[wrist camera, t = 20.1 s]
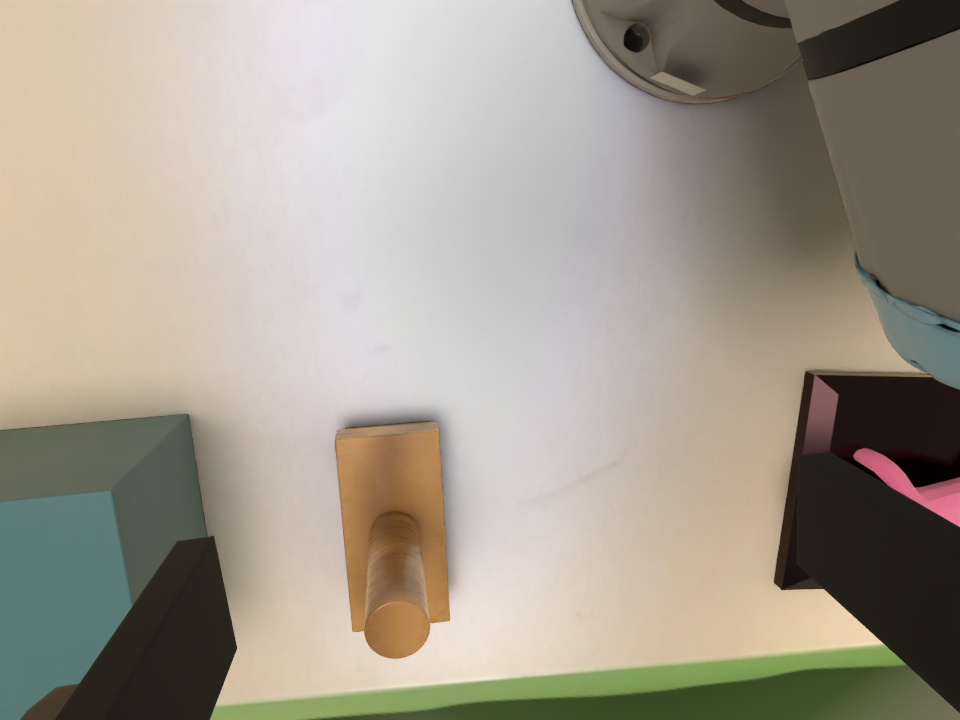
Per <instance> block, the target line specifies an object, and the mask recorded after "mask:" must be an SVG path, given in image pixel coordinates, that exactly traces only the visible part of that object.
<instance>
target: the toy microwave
mask: <svg viewBox="0 0 960 720" xmlns="http://www.w3.org/2000/svg"><path fill="white" fill-rule="evenodd" d="M203 537H207V533H206V527H205V520H204V514H203V507H202V501H201V495H200V488H199V482H198V475H197V469H196V462H195V456H194V449H193V443H192V437H191V430H190V424H189V417H188V414H182V415H171V416H160V417H148V418H137V419H126V420H115V421H103V422H92V423H81V424H70V425H58V426H47V427H36V428H24V429H13V430H2V431H0V720H20V719H21V718H22V716H23V715H24V714H25V712H26V711H27V710H28V709H30V708H31V707H32V706H33V705H35V704H36V703H37V702H38V701H40V700H41V699H42V698H43V697H44V696H46V695H47V694H48V693H49V692H51V691H52V690H53V689H54V688H55V687H60V686H66V685H73V684H79V683H80V682H81V680H82V679H83V677H84V676H85V674H86V673H87V672H88V670H89V669H90V667H91V666H92V664H93V663H94V661H95V660H96V658H97V657H98V656H99V654H100V653H101V651H102V650H103V648H104V647H105V645H106V644H107V642H108V641H109V640H110V638H111V637H112V635H113V634H114V632H115V631H116V629H117V628H118V626H119V625H120V624H121V622H122V621H123V619H124V618H125V616H126V615H127V613H128V612H129V610H130V609H131V608H132V606H133V605H134V603H135V602H136V600H137V599H138V597H139V596H140V594H141V593H142V592H143V590H144V589H145V587H146V586H147V584H148V583H149V581H150V580H151V578H152V577H153V576H154V574H155V573H156V571H157V570H158V568H159V567H160V565H161V564H162V562H163V561H164V560H165V558H166V557H167V555H168V554H169V552H170V551H171V549H172V548H173V546H174V545H175V544H176V542H177V541H181V540H189V539H196V538H203Z"/></svg>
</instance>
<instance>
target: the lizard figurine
mask: <svg viewBox="0 0 960 720" xmlns="http://www.w3.org/2000/svg"><path fill="white" fill-rule="evenodd" d="M823 452H831V453H832V454H834V455H836V456H838V457H839V458H841V459H843V460H845V461H846V462H848V463H850V464H852V465H853V466H855V467H857V468H858V469H860V470H862V471H864V472H865V473H867V474H869V475H871V476H872V477H874V478H876V479H878V480H879V481H881V482H883V483H884V484H886V485H888V486H890V487H891V488H893V489H895V490H897V491H898V492H900V493H902V494H904V495H905V496H907V497H909V498H910V499H912V500H914V501H916V502H917V503H919V504H921V505H923V506H924V507H926V508H928V509H930V510H931V511H933V512H935V513H936V514H938V515H940V516H942V517H943V518H945V519H947V520H949V521H950V522H952V523H954V524H956V525H957V526H959V527H960V389H957V388H954V387H951V386H948V385H946V384H944V383H941V382H939V381H937V380H936V379H934V378H933V377H932V376H931V375H930V374H903V373H857V372H811V371H806V374H805V381H804V387H803V394H802V401H801V407H800V414H799V421H798V427H797V434H796V441H795V447H794V454H793V460H792V467H791V474H790V480H789V487H788V494H787V500H786V507H785V514H784V520H783V527H782V533H781V540H780V547H779V553H778V560H777V567H776V573H775V580H774V583H775V584H776V585H777V586H778V587H779V588H780V589H781V590H795V589H823V588H822V587H821V586H820V585H819V584H818V583H817V582H816V581H815V580H814V579H812V578H811V577H810V576H809V575H808V574H807V573H806V572H805V571H804V570H803V569H801V568H800V567H799V566H798V565H797V474H798V456H801V455H809V454H816V453H823Z"/></svg>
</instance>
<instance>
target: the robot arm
mask: <svg viewBox="0 0 960 720" xmlns="http://www.w3.org/2000/svg"><path fill="white" fill-rule="evenodd" d="M572 2H573V5H574V8H575V11H576V14H577V17H578V19H579V21H580V23H581V25H582V28H583V30H584V31H585V33H586V35H587V37H588V39H589V40H590V42H591V43H592V45H593V46H594V48H595V49H596V51H597V52H598V53H599V55H600V56H601V57H602V58H603V59H604V61H605V62H606V63H607V64H608V65H609V66H610V67H611V68H612V69H613V70H614V71H615V72H616V73H617V74H619V75H620V76H621V77H622V78H624V79H625V80H626V81H628V82H629V83H631V84H632V85H634V86H635V87H637V88H639V89H640V90H642V91H644V92H647V93H649V94H651V95H653V96H656V97H659V98H662V99H665V100H669V101H673V102H679V103H687V104H705V103H714V102H719V101H724V100H728V99H731V98H734V97H737V96H740V95H743V94H746V93H749V92H752V91H755V90H757V89H759V88H761V87H764V86H766V85H768V84H769V83H771V82H773V81H775V80H777V79H778V78H780V77H781V76H782V75H784V74H785V73H787V72H788V71H789V70H791V69H792V68H793V67H794V66H795V65H796V64H798V63H799V62H800V61H801V60H803V64H804V67H805V71H806V74H807V79H808V80H807V82H808V85H809V89H810V92H811V95H812V99H813V102H814V106H815V109H816V112H817V116H818V119H819V123H820V126H821V129H822V133H823V136H824V140H825V143H826V146H827V150H828V153H829V157H830V160H831V163H832V167H833V170H834V174H835V177H836V180H837V184H838V187H839V191H840V194H841V197H842V201H843V204H844V208H845V211H846V215H847V219H848V222H849V226H850V230H851V234H852V237H853V241H854V245H855V249H856V250H855V251H854V260H855V264H856V268H857V273H858V275H859V276H860V278H861V280H862V281H863V283H864V284H865V285H866V286H867V288H868V289H869V291H870V294H871V296H872V299H873V302H874V304H875V307H876V310H877V313H878V316H879V319H880V321H881V324H882V327H883V330H884V332H885V335H886V337H887V339H888V341H889V342H890V343H891V345H892V347H893V348H894V349H895V350H896V352H897V353H898V354H899V355H900V356H901V357H902V358H903V359H904V360H905V361H906V362H908V363H909V364H911V365H912V366H914V367H916V368H918V369H920V370H921V371H924V372H927V373H928V374H930V375H931V376H932V377H933V378H934V379H936V380H937V381H939V382H941V383H944V384H946V385H948V386H951V387H954V388H957V389H960V0H572ZM797 565H798V566H799V567H800V568H801V569H803V570H804V571H805V572H806V573H807V574H808V575H809V576H810V577H811V578H812V579H814V580H815V581H816V582H817V583H818V584H819V585H820V586H821V587H822V588H823V589H824V590H826V591H827V592H828V593H829V594H830V595H831V596H832V597H833V598H834V599H835V600H837V601H838V602H839V603H840V604H841V605H842V606H843V607H844V608H845V609H846V610H847V611H849V612H850V613H851V614H852V615H853V616H854V617H855V618H856V619H857V620H858V621H860V622H861V623H862V624H863V625H864V626H865V627H866V628H867V629H868V630H869V631H870V632H872V633H873V634H874V635H875V636H876V637H877V638H878V639H879V640H880V641H881V642H883V643H884V644H885V645H886V646H887V647H888V648H889V649H890V650H891V651H892V652H893V653H895V654H896V655H897V656H898V657H899V658H900V659H901V660H902V661H903V662H904V663H906V664H907V665H908V666H909V667H910V668H911V669H912V670H913V671H914V672H916V674H918V675H919V676H920V677H921V678H922V679H923V680H924V681H925V682H926V683H928V684H929V685H930V686H931V687H932V688H933V689H934V690H935V691H936V692H937V693H938V694H940V695H941V696H942V697H943V698H944V699H945V700H946V701H947V702H948V703H950V705H952V706H953V707H954V708H955V709H956V710H957V711H958V712H959V713H960V527H959V526H957V525H956V524H954V523H952V522H950V521H949V520H947V519H945V518H943V517H942V516H940V515H938V514H936V513H935V512H933V511H931V510H930V509H928V508H926V507H924V506H923V505H921V504H919V503H917V502H916V501H914V500H912V499H910V498H909V497H907V496H905V495H904V494H902V493H900V492H898V491H897V490H895V489H893V488H891V487H890V486H888V485H886V484H884V483H883V482H881V481H879V480H878V479H876V478H874V477H872V476H871V475H869V474H867V473H865V472H864V471H862V470H860V469H858V468H857V467H855V466H853V465H852V464H850V463H848V462H846V461H845V460H843V459H841V458H839V457H838V456H836V455H834V454H832V453H831V452H823V453H816V454H809V455H801V456H798V474H797ZM236 650H237V646H236V641H235V636H234V631H233V626H232V621H231V616H230V612H229V607H228V602H227V597H226V592H225V587H224V583H223V578H222V573H221V568H220V563H219V558H218V554H217V549H216V544H215V539H214V536H211V537H203V538H196V539H189V540H181V541H177V542H176V544H175V545H174V546H173V548H172V549H171V551H170V552H169V554H168V555H167V557H166V558H165V560H164V561H163V562H162V564H161V565H160V567H159V568H158V570H157V571H156V573H155V574H154V576H153V577H152V578H151V580H150V581H149V583H148V584H147V586H146V587H145V589H144V590H143V592H142V593H141V594H140V596H139V597H138V599H137V600H136V602H135V603H134V605H133V606H132V608H131V609H130V610H129V612H128V613H127V615H126V616H125V618H124V619H123V621H122V622H121V624H120V625H119V626H118V628H117V629H116V631H115V632H114V634H113V635H112V637H111V638H110V640H109V641H108V642H107V644H106V645H105V647H104V648H103V650H102V651H101V653H100V654H99V656H98V657H97V658H96V660H95V661H94V663H93V664H92V666H91V667H90V669H89V670H88V672H87V673H86V674H85V676H84V677H83V679H82V680H81V682H80V683H79V684H73V685H66V686H60V687H55V688H54V689H53V690H52V691H51V692H49V693H48V694H47V695H46V696H44V697H43V698H42V699H41V700H40V701H38V702H37V703H36V704H35V705H33V706H32V707H31V708H30V709H28V710H27V711H26V712H25V714H24V715H23V716H22V718H21V719H20V720H210V718H211V715H212V712H213V710H214V707H215V704H216V702H217V699H218V697H219V694H220V691H221V689H222V686H223V684H224V681H225V678H226V676H227V673H228V671H229V668H230V665H231V663H232V660H233V658H234V655H235V652H236Z"/></svg>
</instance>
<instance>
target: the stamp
mask: <svg viewBox="0 0 960 720" xmlns="http://www.w3.org/2000/svg"><path fill="white" fill-rule="evenodd" d="M335 448H336V459H337V469H338V480H339V491H340V502H341V513H342V523H343V534H344V545H345V556H346V566H347V577H348V588H349V599H350V610H351V620H352V631H353V632H359V631H364V634H365V638H366V641H367V643H368V645H369V646H370V647H371V649H372V650H373V651H375V652H376V653H377V654H379V655H381V656H384V657H387V658H403V657H407V656H409V655H412V654H413V653H415V652H416V651H418V650H419V649H420V648H421V647H422V646H423V645H424V643H425V642H426V640H427V638H428V635H429V631H430V623H436V622H445V621H450V611H449V593H448V576H447V559H446V542H445V524H444V507H443V490H442V473H441V455H440V438H439V429H438V425H437V422H430V421H426V422H413V423H401V424H389V425H376V426H364V427H352V428H345V429H342V430H337V434H336V438H335Z"/></svg>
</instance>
